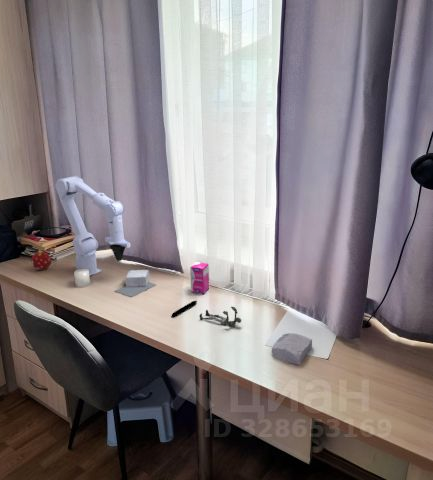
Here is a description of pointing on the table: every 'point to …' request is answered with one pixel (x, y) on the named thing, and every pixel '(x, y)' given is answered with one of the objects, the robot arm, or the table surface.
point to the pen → (183, 309)
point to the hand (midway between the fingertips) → (119, 260)
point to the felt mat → (134, 289)
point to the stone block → (291, 348)
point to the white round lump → (82, 278)
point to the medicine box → (137, 278)
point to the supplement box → (199, 278)
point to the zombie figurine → (224, 320)
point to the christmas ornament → (41, 260)
